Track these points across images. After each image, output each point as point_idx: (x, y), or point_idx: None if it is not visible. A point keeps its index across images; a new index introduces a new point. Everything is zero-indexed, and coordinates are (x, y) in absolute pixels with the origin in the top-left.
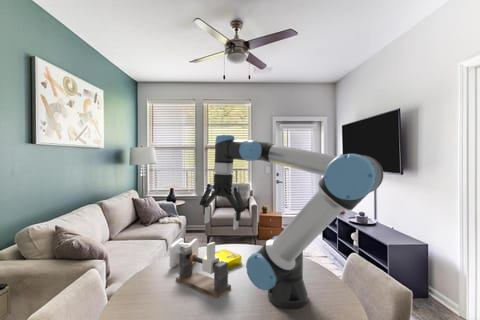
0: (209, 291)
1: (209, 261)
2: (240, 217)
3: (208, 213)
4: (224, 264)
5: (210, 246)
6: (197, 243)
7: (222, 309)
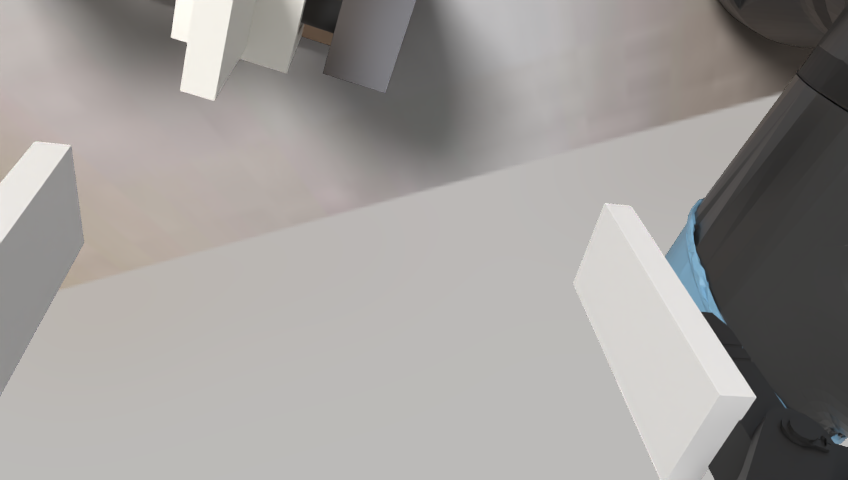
0: (318, 41)
1: (266, 64)
2: (744, 352)
3: (8, 291)
4: (404, 33)
5: (224, 63)
6: None
7: (451, 137)
